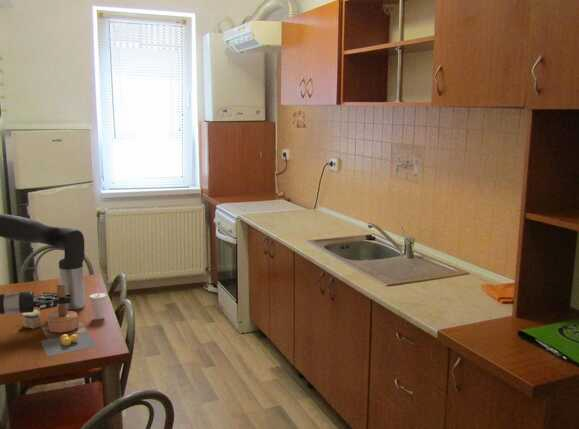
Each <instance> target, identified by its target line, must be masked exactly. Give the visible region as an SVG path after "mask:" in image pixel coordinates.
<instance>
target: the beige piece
mask: <svg viewBox="0 0 579 429" xmlns="http://www.w3.org/2000/svg"><path fill="white" fill-rule="evenodd" d="M21 314H22V315H23V316H22V318H23V321H22V323H23V325H24V326H23V327H24V328H29V329H37V328H39V327H40V328H41V326H42V323H43V321H42V315H41V314H42V312H41V311H39V310H38V309H35V308H34V311H33V312H29V313H21Z"/></svg>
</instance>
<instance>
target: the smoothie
mask: <svg viewBox="0 0 579 429" xmlns="http://www.w3.org/2000/svg"><path fill="white" fill-rule="evenodd" d="M96 290H97V292H96V293H93V294H92V293H91V294H90V295H89V300H90V303H91V304H90V305H91V310H92V314H93V319H94V320H102V319H104V318H105V313H106V312H105V311H106V303H107V302H106V300H107V298H108V296H107V294H106V293H104V292H100V284H99V283H98V284H97V288H96Z"/></svg>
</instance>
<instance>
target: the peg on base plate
mask: <svg viewBox="0 0 579 429" xmlns="http://www.w3.org/2000/svg"><path fill="white" fill-rule="evenodd" d="M56 293H57V298H63V297H66V284H65V283H60V282H58V283H57V284H56ZM79 320H80V319H79V316H78V312H76V311H74V310H67V304H59V305H57V311H55V312H53V313H50V314H49V315H48V317H47V325H48V329H49V331H50V332H58V333H61V332H67V331H72V330H74V329H76V328H77V327H79Z"/></svg>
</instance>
